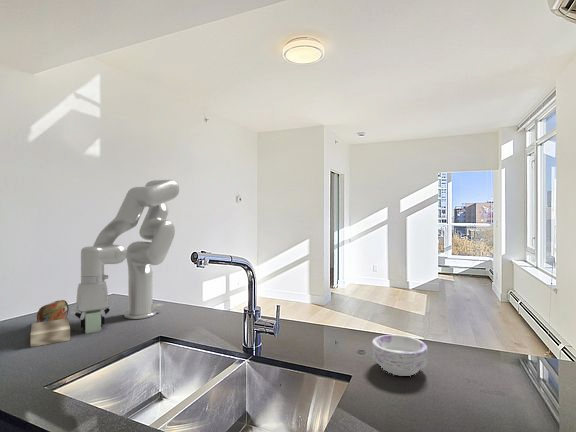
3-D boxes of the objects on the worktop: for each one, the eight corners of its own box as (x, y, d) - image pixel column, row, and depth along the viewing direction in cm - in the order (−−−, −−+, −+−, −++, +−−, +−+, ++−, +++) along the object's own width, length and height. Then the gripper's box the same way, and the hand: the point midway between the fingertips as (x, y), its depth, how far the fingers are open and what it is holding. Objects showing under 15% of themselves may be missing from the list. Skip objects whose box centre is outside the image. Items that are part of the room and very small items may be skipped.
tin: (43, 330, 129) (43, 308, 129) (34, 330, 129) (34, 307, 129) (69, 317, 144) (69, 297, 144) (62, 317, 144) (61, 297, 144)
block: (99, 327, 133) (99, 309, 133) (101, 330, 129) (101, 312, 129) (84, 329, 130) (84, 311, 130) (85, 333, 126) (85, 314, 126)
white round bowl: (380, 354, 110) (380, 329, 110) (431, 366, 102) (431, 339, 102) (364, 373, 97) (365, 345, 97) (421, 388, 89) (422, 358, 89)
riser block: (68, 328, 131) (67, 318, 131) (70, 340, 120) (70, 328, 120) (31, 334, 125) (31, 323, 125) (30, 347, 113) (30, 335, 113)
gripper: (116, 275, 137) (115, 321, 138) (65, 280, 127) (65, 329, 128) (119, 278, 131) (119, 326, 131) (66, 284, 121) (66, 335, 122)
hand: (92, 327), depth 130 cm, fingers closed on block, 5 cm apart
